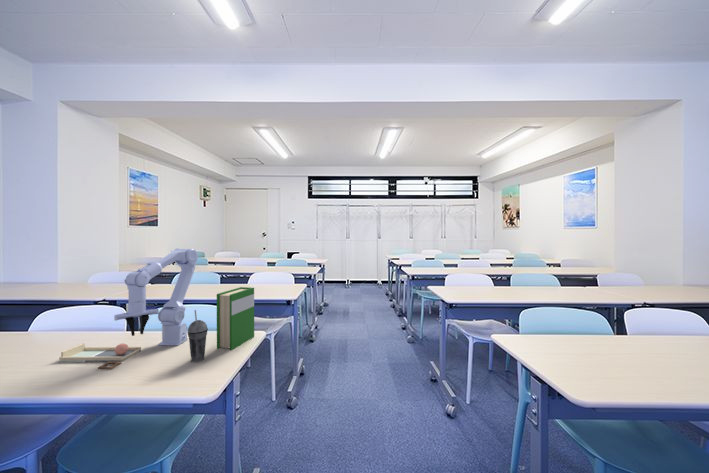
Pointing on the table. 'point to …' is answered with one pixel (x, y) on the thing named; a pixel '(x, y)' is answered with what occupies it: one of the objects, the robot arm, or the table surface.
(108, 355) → the tray
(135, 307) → the robot arm
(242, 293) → the hardback book
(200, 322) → the beverage cup
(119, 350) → the ball
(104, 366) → the open wooden square ring
